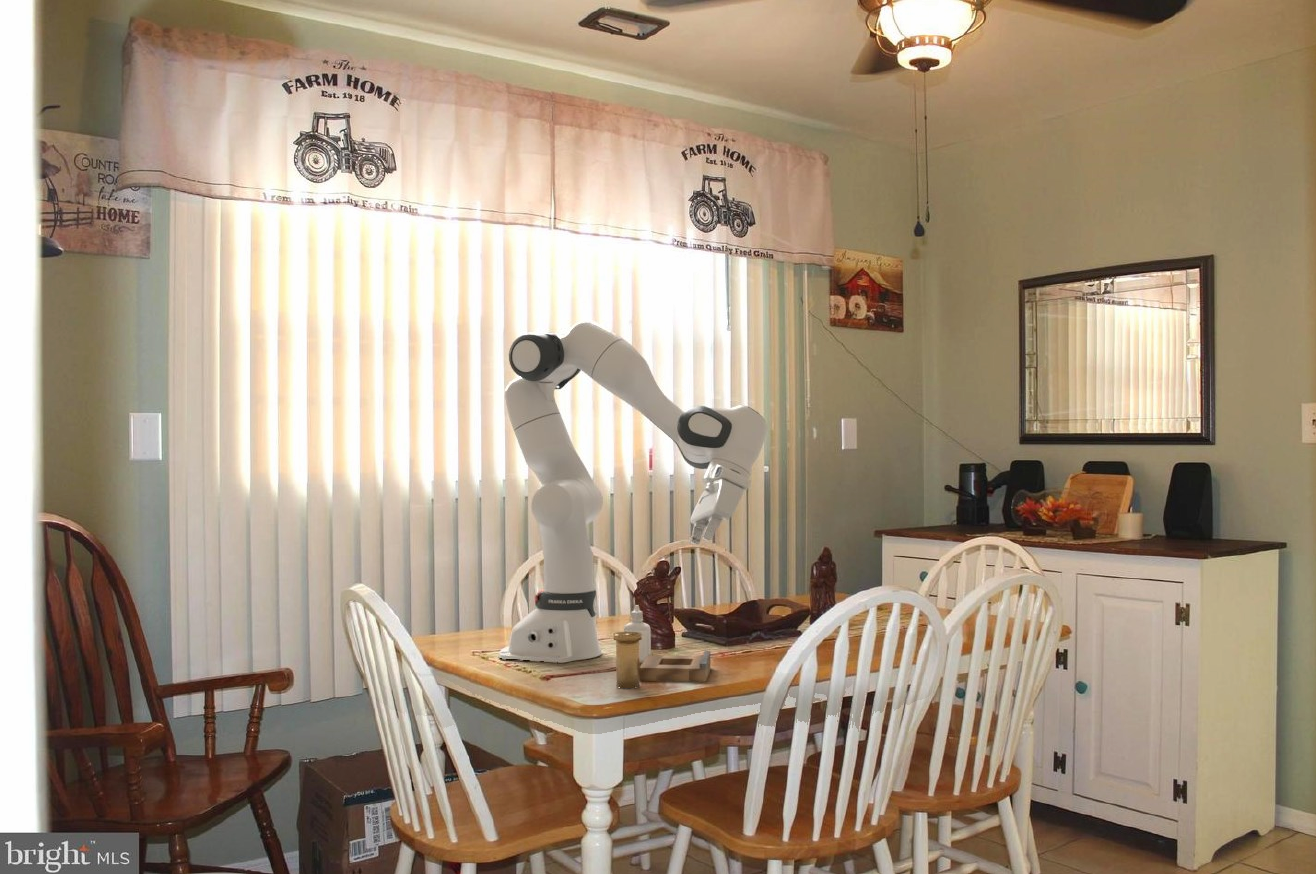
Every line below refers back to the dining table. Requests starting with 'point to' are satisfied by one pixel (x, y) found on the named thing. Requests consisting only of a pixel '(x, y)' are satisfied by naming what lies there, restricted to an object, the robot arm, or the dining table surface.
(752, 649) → the dining table surface
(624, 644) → the bushing
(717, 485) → the robot arm
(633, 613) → the eye dropper bottle
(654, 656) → the jig
